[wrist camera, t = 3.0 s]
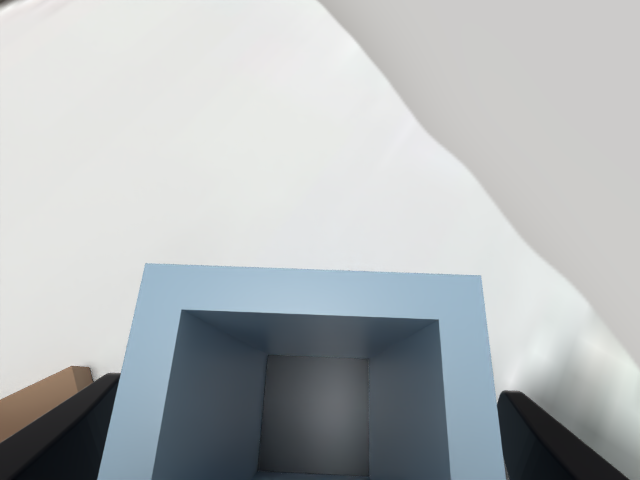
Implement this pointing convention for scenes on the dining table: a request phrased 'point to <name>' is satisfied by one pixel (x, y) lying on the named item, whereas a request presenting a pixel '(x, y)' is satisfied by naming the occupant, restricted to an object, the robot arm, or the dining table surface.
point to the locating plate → (40, 398)
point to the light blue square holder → (303, 340)
